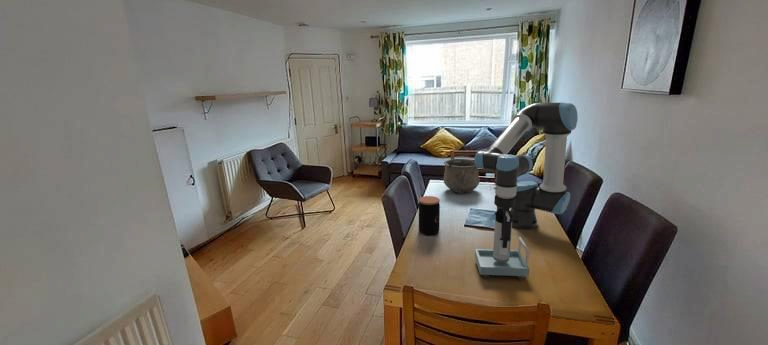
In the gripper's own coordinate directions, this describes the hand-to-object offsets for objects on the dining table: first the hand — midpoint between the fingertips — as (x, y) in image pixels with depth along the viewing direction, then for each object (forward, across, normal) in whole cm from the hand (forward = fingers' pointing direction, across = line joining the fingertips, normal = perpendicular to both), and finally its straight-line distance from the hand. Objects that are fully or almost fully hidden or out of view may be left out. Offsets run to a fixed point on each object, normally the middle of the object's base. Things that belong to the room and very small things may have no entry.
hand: (501, 249), depth 127 cm
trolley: (+9, 0, 0) cm, 9 cm away
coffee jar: (+10, -34, -28) cm, 45 cm away
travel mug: (+4, 0, 0) cm, 4 cm away
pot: (+10, -101, -4) cm, 101 cm away
